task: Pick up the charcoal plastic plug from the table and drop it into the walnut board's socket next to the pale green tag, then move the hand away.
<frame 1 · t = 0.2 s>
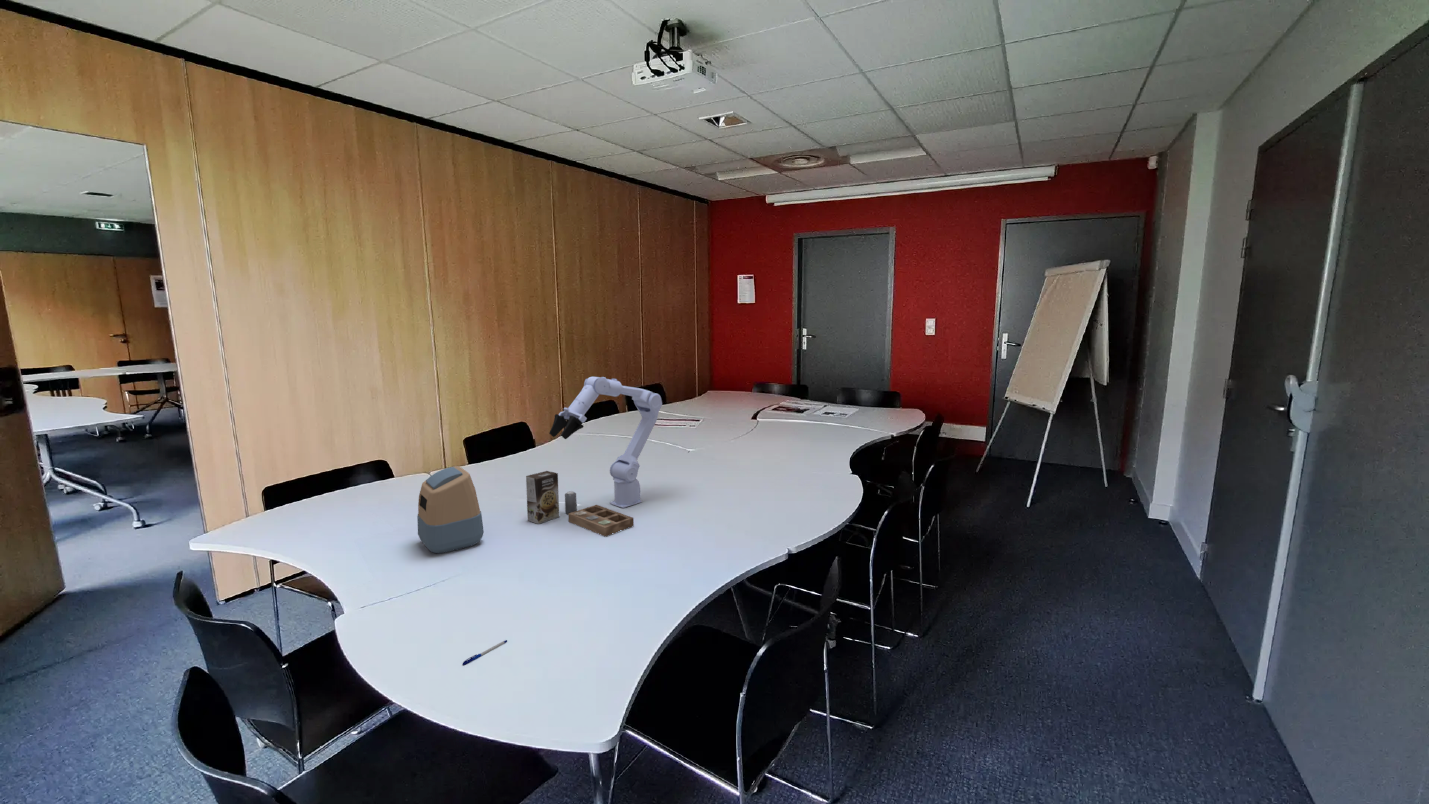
hand: (557, 436, 191), 31 cm above the table, tool tilted 45°, fingers open, 7 cm apart
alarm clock: (451, 543, 179), on the table
socket board: (600, 524, 195), on the table
coffee box: (543, 519, 200), on the table
plug: (571, 512, 206), on the table
ballpoint pen: (485, 654, 122), on the table
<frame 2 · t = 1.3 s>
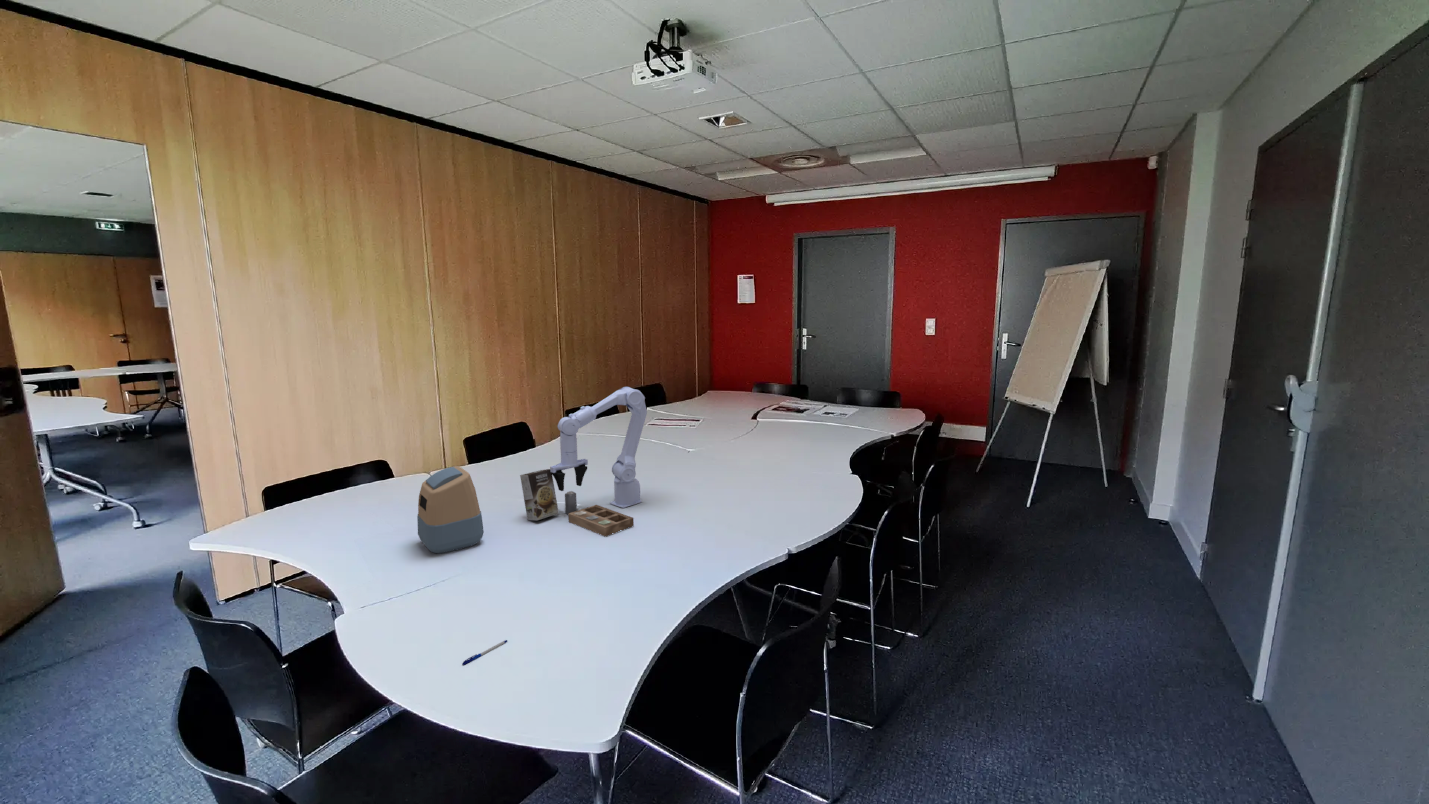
hand: (570, 487, 205), 9 cm above the table, tool pointing down, fingers open, 7 cm apart
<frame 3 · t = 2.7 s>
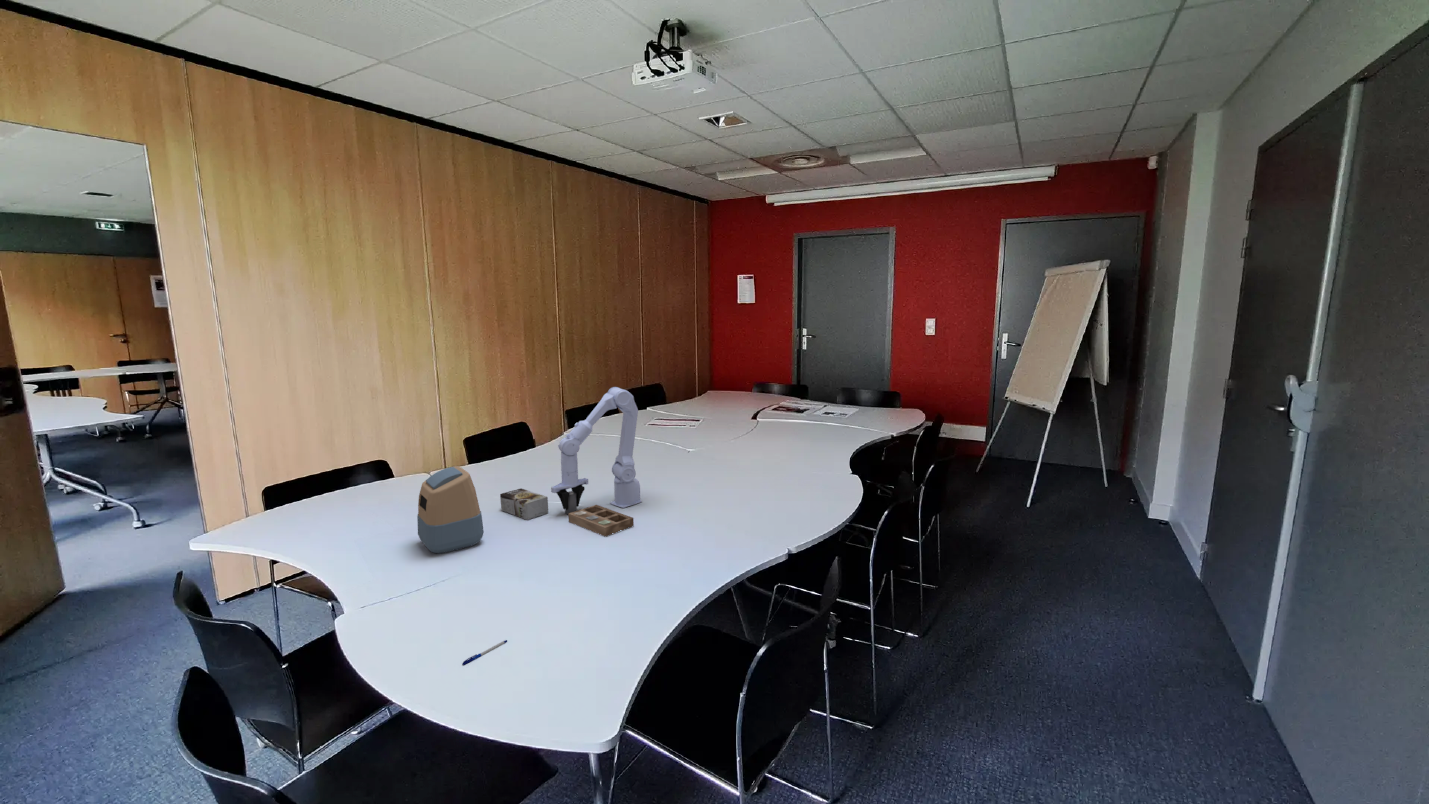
hand: (570, 507, 206), 2 cm above the table, tool pointing down, fingers closed on plug, 4 cm apart
coffee box: (538, 508, 201), point 3 cm above the table
plug: (571, 512, 206), on the table, touching gripper
everything else where it was.
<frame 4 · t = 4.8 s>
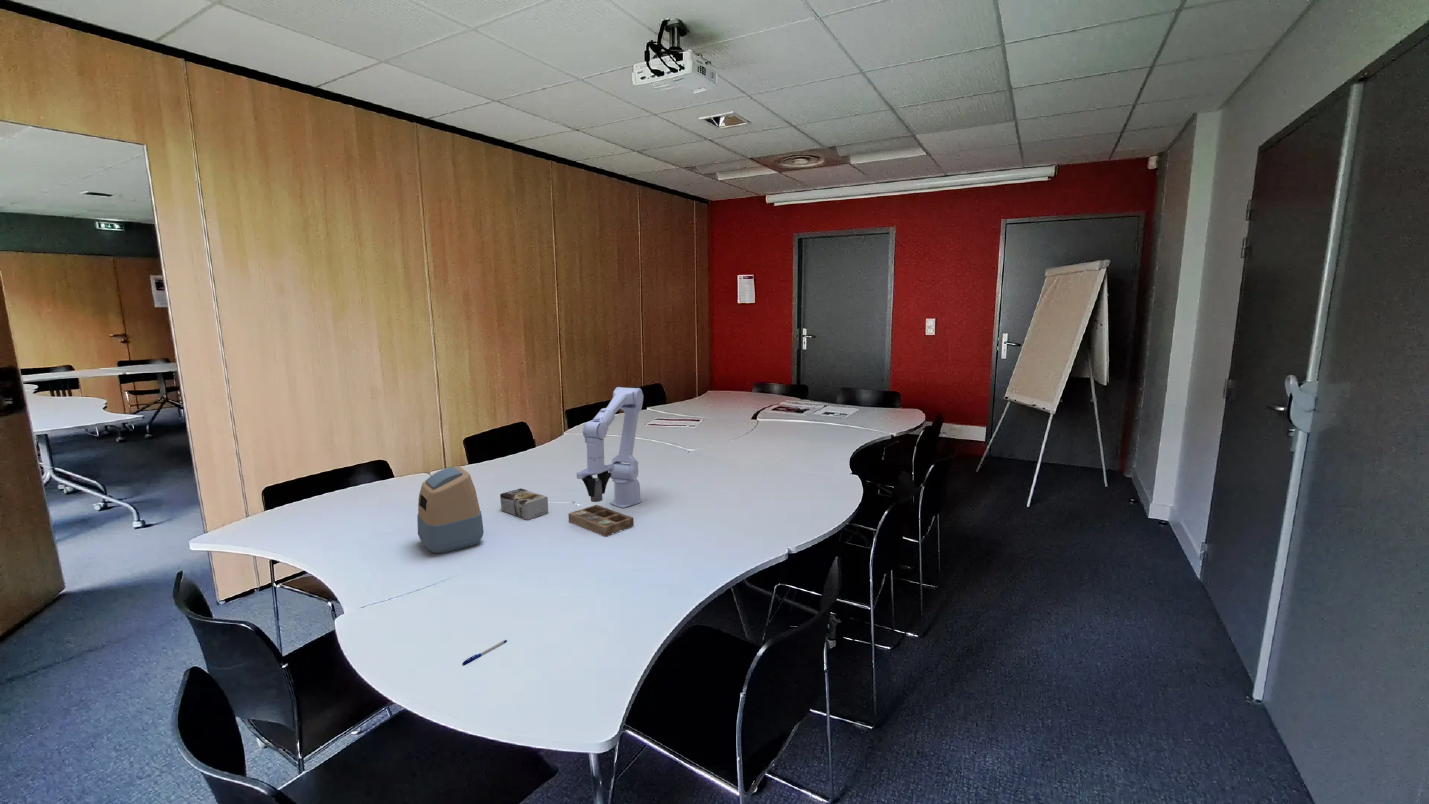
hand: (596, 494, 197), 9 cm above the table, tool pointing down, fingers closed on plug, 4 cm apart
plug: (596, 500, 197), point 7 cm above the table, touching gripper
everything else where it was.
when the fingers open (4 cm above the table, at t = 7.2 s): plug drops 2 cm, resting in socket board.
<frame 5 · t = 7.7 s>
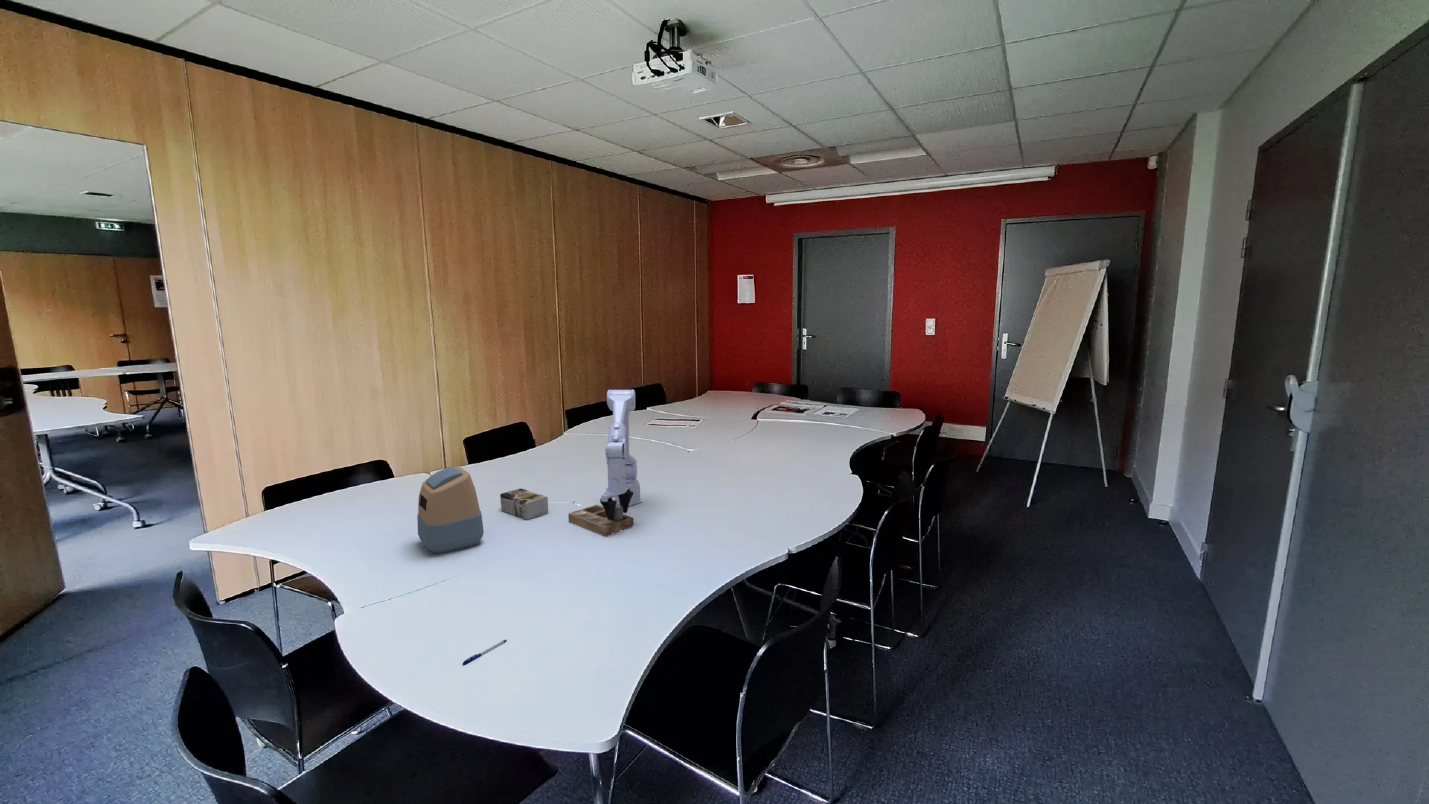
hand: (617, 516, 192), 4 cm above the table, tool pointing down, fingers open, 7 cm apart
plug: (617, 527, 193), resting in socket board
everything else where it was.
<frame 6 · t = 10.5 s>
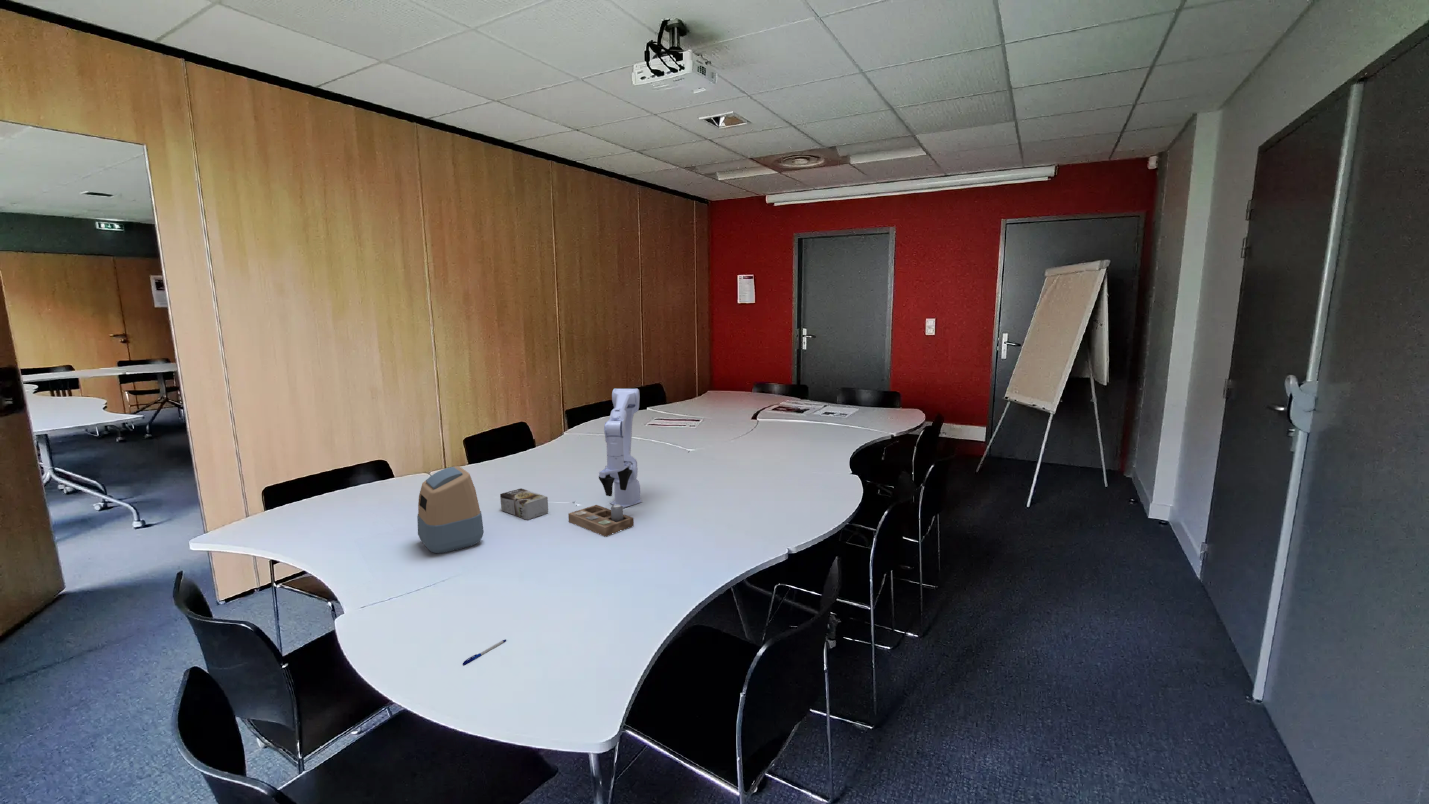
hand: (616, 492, 199), 9 cm above the table, tool pointing down, fingers open, 7 cm apart
nothing on the table moved.
at the end: plug 0.1 cm from the target spot on the socket board, point 0.0 cm above the socket board's base; plug tilted 0°; the gripper is holding nothing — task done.
